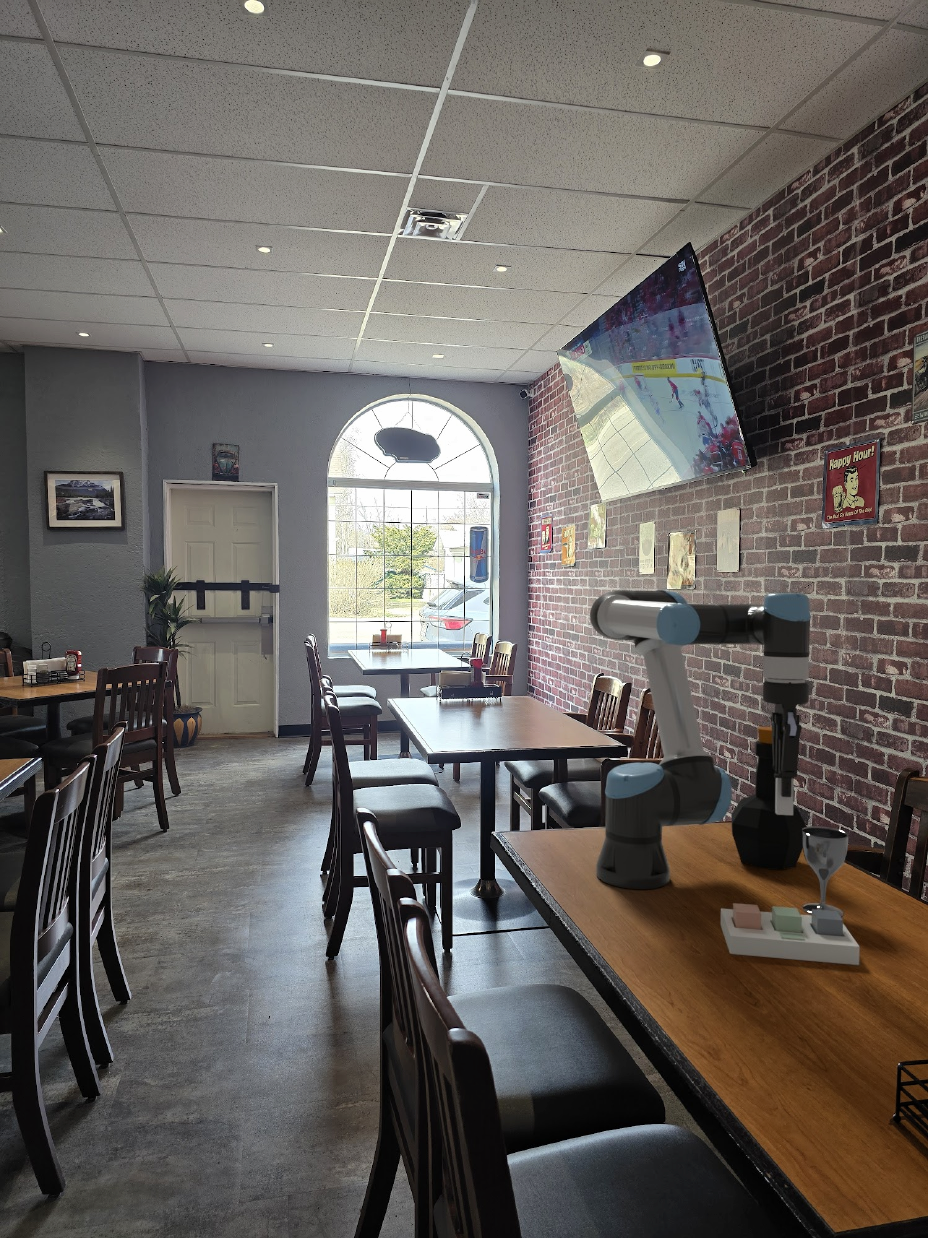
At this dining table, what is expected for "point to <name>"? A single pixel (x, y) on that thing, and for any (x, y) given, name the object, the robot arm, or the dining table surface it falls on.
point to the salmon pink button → (746, 916)
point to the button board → (789, 941)
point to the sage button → (786, 919)
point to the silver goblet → (824, 858)
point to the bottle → (766, 818)
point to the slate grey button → (827, 922)
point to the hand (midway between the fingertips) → (784, 813)
